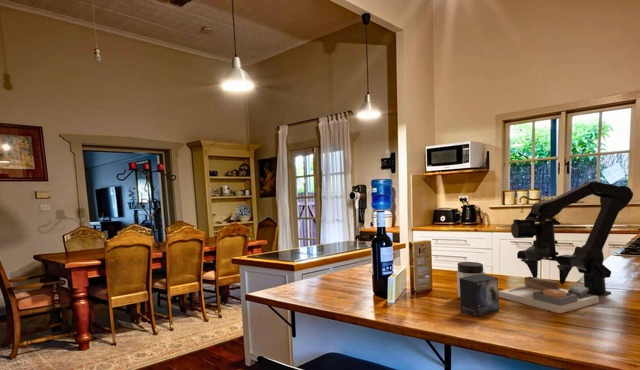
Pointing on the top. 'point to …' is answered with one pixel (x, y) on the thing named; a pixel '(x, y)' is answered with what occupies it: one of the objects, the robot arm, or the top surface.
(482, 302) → the small box
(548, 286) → the slider bar
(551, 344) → the top surface
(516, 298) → the panel
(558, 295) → the push button
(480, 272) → the jar
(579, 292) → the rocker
